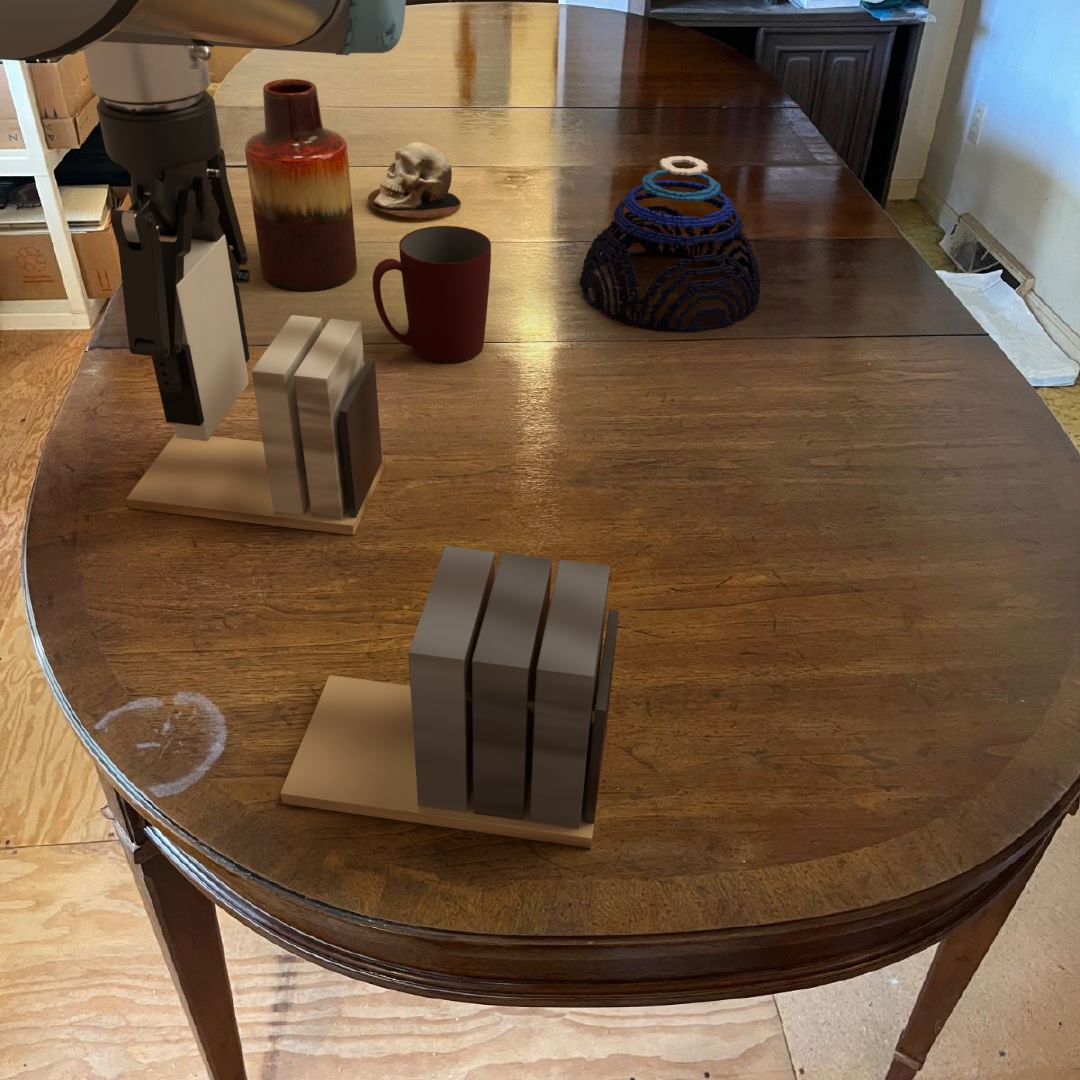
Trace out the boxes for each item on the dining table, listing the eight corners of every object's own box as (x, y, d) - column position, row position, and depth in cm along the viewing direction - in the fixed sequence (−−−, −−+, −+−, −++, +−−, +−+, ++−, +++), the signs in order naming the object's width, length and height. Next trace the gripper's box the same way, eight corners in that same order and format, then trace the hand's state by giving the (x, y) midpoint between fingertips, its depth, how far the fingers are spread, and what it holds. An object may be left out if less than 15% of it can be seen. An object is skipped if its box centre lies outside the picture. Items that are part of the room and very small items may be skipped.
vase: (296, 244, 128) (275, 65, 115) (374, 262, 125) (362, 80, 112) (242, 279, 120) (213, 91, 107) (324, 299, 117) (304, 108, 104)
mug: (397, 382, 104) (390, 277, 97) (362, 342, 110) (354, 240, 103) (505, 355, 109) (507, 253, 102) (467, 318, 114) (466, 219, 107)
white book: (207, 441, 82) (176, 286, 74) (176, 438, 82) (142, 282, 74) (249, 382, 89) (225, 234, 81) (220, 379, 89) (194, 231, 81)
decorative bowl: (555, 263, 126) (560, 140, 117) (706, 244, 132) (722, 126, 123) (622, 342, 112) (634, 208, 102) (788, 317, 117) (813, 188, 108)
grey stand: (591, 848, 63) (608, 685, 54) (281, 803, 65) (249, 638, 56) (607, 721, 71) (624, 561, 62) (330, 684, 73) (309, 523, 64)
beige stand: (353, 535, 85) (338, 383, 76) (128, 508, 87) (87, 357, 78) (386, 465, 93) (375, 319, 84) (178, 441, 95) (146, 296, 86)
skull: (394, 223, 131) (366, 144, 130) (374, 253, 140) (347, 179, 140) (480, 203, 135) (453, 127, 135) (455, 233, 145) (429, 162, 145)
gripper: (136, 155, 62) (201, 472, 76) (265, 54, 78) (299, 329, 92) (14, 144, 62) (101, 460, 76) (168, 47, 79) (216, 321, 93)
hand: (210, 388), depth 84 cm, fingers closed on white book, 9 cm apart
